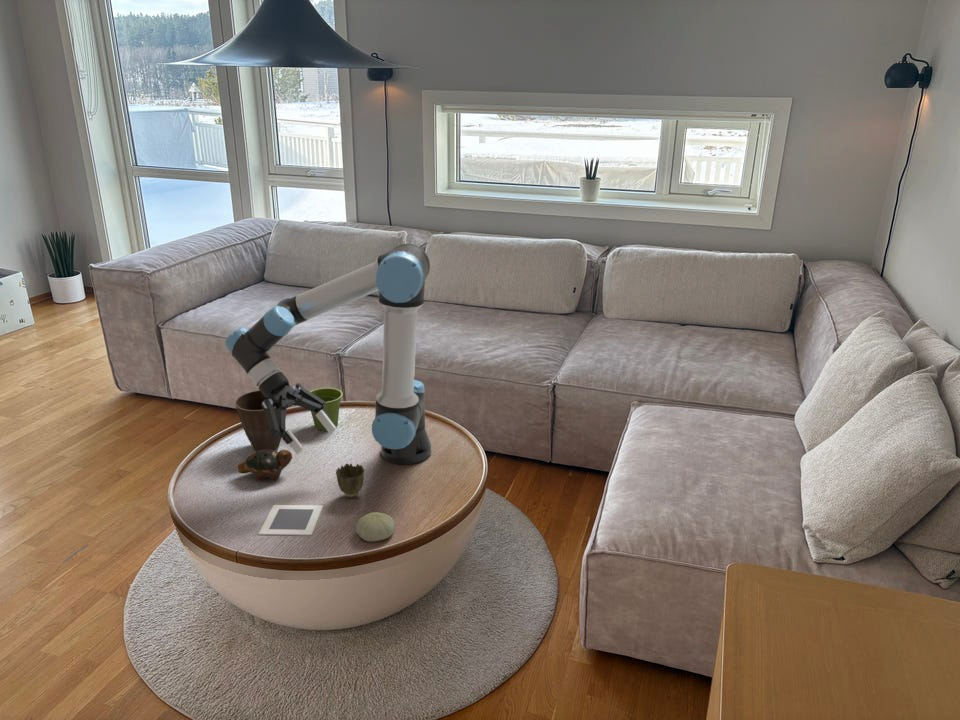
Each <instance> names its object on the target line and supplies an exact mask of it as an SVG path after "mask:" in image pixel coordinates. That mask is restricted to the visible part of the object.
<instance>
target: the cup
mask: <svg viewBox="0 0 960 720" xmlns="http://www.w3.org/2000/svg"><path fill="white" fill-rule="evenodd" d="M335 476H336V481H337V484H338V487H339V489H340V491H341V492H343V493H344V497H345V498H347V499H356V498H357V497H358V496H359V492H360V491H361V490H362V488H363V486H364V477H365V467H363V465H362V464H361V465H359V464H358V463H356V466H355V465H353V464H352V463H350V464H349V463H345V464H344V465H340V467H337V468H336V470H335Z"/></svg>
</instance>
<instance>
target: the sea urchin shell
mask: <svg viewBox="0 0 960 720" xmlns="http://www.w3.org/2000/svg"><path fill="white" fill-rule="evenodd" d="M355 531H356V533H357V535H358V536H359V537H360V538H361V539H363V541H366V542H369V543H372V542H378V541H384V540H385V539H388V538H390V537H391V536H392V534H393V533H394V531H395V521H394V520H393V518H392V517H391V516H390V515H389V514H386V513H384V512H379V511H378V512H377V511H375V512H374V511H373V512H369V513H365V515H363V516H361V517H360V519H359V520H357V521H356V525H355Z"/></svg>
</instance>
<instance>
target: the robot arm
mask: <svg viewBox="0 0 960 720" xmlns="http://www.w3.org/2000/svg"><path fill="white" fill-rule="evenodd" d="M430 262H431V261H430V259H429V256H428V254H427V252H426V251H425V250H424V249H423V248H422V247H420V246H418V245H417V244H414V243H402V244H399V245H397V246H395V247H394V248H392V249H391V250H388V251H387V252H385V253H382V254H381V255H379V256H377V257H376V259H375V261H374V262H371V263H369V264H367V265H365V266H362V267H360V268H358V269H356V270H353V271H351V272H348V273H346V274H343V275H342V276H338V277H336V278H334V279H332V280H329V281H327V282H325V283H322V284H321V285H318V286H316V287H313V288H310V289H309V290H307V291H304V292H302V293H300V294H297V295H295V296H292V297H291V296H290V297H289V296H288V297H286V298H285V299H282V300H280V301H279V302H278V303H277V304H276V305H275V306H273V307H271V309H269V310H267V312H265V313H264V315H262V317H260V318H259V320H258V321H257V322H256V323H255V324H254V325H252V327H251V328H248V327H245V326H244V327H240V328H238V329H236V330H234V331H233V332H232V333H230V334H229V335H228V336H227V337H226V338H225V342H224V344H225V347H226V348H227V350H228V351H229V352H230V354H231V357H233V358H234V360H236V361H237V363H238V364H239V365H240V367H241V368H242V369H243V370H244V371H245V373H246V374H247V376H248V377H249V378H250V380H251V381H252V382H253V384H254V385H255V386H257V387H258V391H259V390H260V391H261V393H262V394H263V395H264V396H265V398H268V399H265V400H264V401H263V403H262V404H261V406H262V408H263V409H264V411H265V414H266V418H267V422H268V426H269V430H270V433H271V435H272V436H275V435H276V436H277V437H279V436H281V437H282V438H281V440H283V441H284V443H285V444H286V445H289V446H290V447H291V448H292V450H293V451H294V453H295V454H296V455H299V454H300V453H301V452H302V451H303V450H304V449H305V447H303V445H302V444H301V443H300V441H299V440H298V439H297V437H296V436H295V435H294V433H293V432H292V431H291V429H290V428H288V429H287V428H286V425H287V424H286V419H285V409H288V408H290V407H292V406H298V407H300V408H303V409H306V410H309V411H310V412H311V411H313V412H315V413H317V414H316V415H315V416H316V417H317V418H318V419H319V421H320V422H321V423H322V425H323V426H324V427H325V428H326V430H327V431H326V432H327V433H329V434H332V433H333V432H335V430H336V429H337V427H335V425H334V424H333V423H332V421H331V420H330V417H329V416H328V414H327V413H326V412H325V410H324V407H325V405H326V402H325V401H323V400H322V399H320V398H319V397H317V396H316V395H314V394H313V393H311V392H310V390H308V389H307V388H305V387H304V386H303V385H302V384H301V382H297V383H296V384H295V385H294V386H293V387H292V386H291V385H290V382H289V379H288V378H287V377H286V376H285V374H284V373H283V372H282V371H280V370H281V369H280V368H279V367H278V365H277V364H276V363H275V361H274V360H273V359H272V357H271V356H270V355H269V353H268V352H269V351H270V350H271V349H272V347H274V346H275V345H277V343H279V342H280V341H281V340H282V339H283V338H284V337H285V336H287V335H288V334H289V333H290V332H291V330H292V329H294V327H295V326H298V325H299V324H302V323H305V322H306V321H309V320H311V319H314V318H316V317H318V316H320V315H323V314H325V313H328V312H330V311H333V310H335V309H338V308H340V307H343V306H344V305H347V304H349V303H352V302H354V301H357V300H359V299H362V298H364V297H367V296H369V295H372V294H374V293H376V292H378V303H379V304H380V305H381V306H382V307H383V308H384V310H383V312H384V314H383V317H384V318H383V339H382V340H383V342H382V343H383V344H382V346H383V347H382V376H381V379H382V380H381V391H380V392H378V394H377V395H375V414H374V415H375V416H374V419H373V420H372V423H371V434H372V437H373V438H374V440H375V441H376V442H377V443H378V444H379V445H380V455H381V457H382V458H383V460H386V461H387V462H388V463H393V464H398V465H412V464H417V463H420V462H423V461H425V460H427V459H428V458H429V457H430V456H431V455H432V443H431V439H430V437H429V435H428V433H427V430H426V408H425V407H426V405H425V404H426V403H425V402H426V401H425V397H426V396H425V393H426V391H425V385H424V383H423V382H422V381H419V380H417V379H415V368H416V348H417V344H416V343H417V326H418V310H419V309H420V308H422V307H423V305H424V304H425V302H424V301H425V290H426V288H425V285H426V279H427V277H428V275H429V274H430V271H431V270H430V269H431V263H430ZM272 405H274V406H275V409H276V413H277V419H276V416H275V412H274V408H273V406H272ZM430 454H431V455H430ZM429 455H430V456H429ZM428 456H429V457H428ZM426 458H427V459H426Z"/></svg>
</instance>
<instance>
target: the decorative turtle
mask: <svg viewBox="0 0 960 720" xmlns="http://www.w3.org/2000/svg"><path fill="white" fill-rule="evenodd" d="M292 459H293V453H292V452H291V451H290V450H287V449H281V450H279V451H276V450H269V449H265V450H259V451H253V452H252V453H250V454H249V455H248V456H247V457H246V458H245V460H244V461H242V462H240V463H238V464H237V470H238V472H239V474H248V473H249V474H250V473H251V474H252V475H253V476H254V477H255V479H256V481H258V482H261V481H264V480H265V478H266V477H268V478H270V479H272V480H273V481H278V479H279V478H280V475H281V473H282V471H283V470H284V469H285V468H286V467H287V466H288V465H289V464H290V463H291V461H292Z"/></svg>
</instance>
